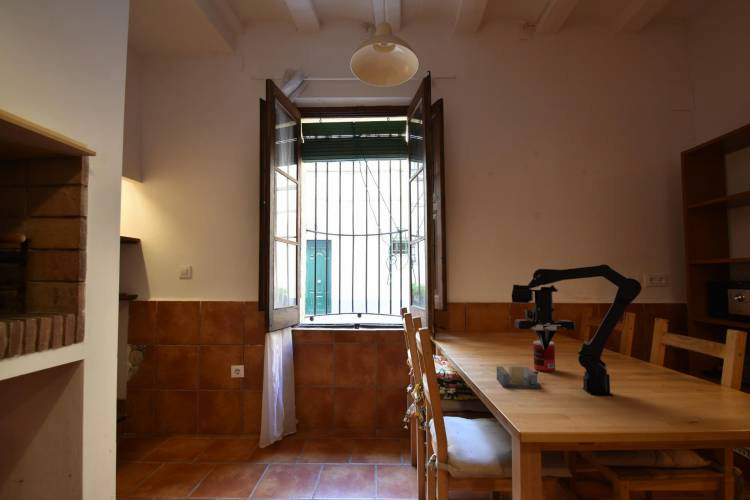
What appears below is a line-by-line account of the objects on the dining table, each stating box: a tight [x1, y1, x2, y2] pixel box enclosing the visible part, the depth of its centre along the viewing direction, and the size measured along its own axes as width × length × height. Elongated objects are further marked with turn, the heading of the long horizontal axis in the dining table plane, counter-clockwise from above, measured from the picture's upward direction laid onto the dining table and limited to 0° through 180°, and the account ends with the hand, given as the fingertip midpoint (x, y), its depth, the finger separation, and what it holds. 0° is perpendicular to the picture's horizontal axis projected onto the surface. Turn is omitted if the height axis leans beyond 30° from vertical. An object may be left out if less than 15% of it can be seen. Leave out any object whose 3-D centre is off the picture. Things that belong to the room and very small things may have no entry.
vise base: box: [496, 365, 541, 390], centre depth 127 cm, size 12×10×5 cm
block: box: [508, 363, 525, 382], centre depth 127 cm, size 4×4×5 cm
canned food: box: [532, 339, 556, 373], centre depth 145 cm, size 8×8×11 cm
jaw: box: [523, 366, 539, 384], centre depth 126 cm, size 5×10×3 cm, turn 174°
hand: (545, 349), depth 126 cm, fingers closed
